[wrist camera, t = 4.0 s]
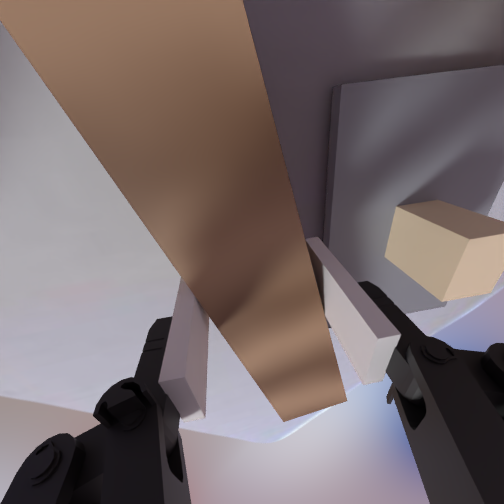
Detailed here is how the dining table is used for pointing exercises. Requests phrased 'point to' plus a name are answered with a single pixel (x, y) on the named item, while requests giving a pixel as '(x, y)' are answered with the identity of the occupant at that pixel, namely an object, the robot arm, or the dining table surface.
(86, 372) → the dining table surface
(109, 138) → the walnut bar
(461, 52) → the dining table surface
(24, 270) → the dining table surface
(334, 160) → the board
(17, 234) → the dining table surface
